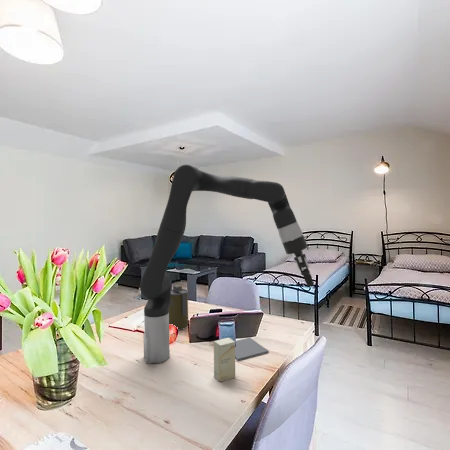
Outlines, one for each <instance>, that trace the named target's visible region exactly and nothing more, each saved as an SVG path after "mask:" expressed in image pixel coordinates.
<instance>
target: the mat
mask: <svg viewBox="0 0 450 450" xmlns="http://www.w3.org/2000/svg"><path fill="white" fill-rule="evenodd" d="M235 341H236V347H235V361H237V362H239V361H243V360H247V359H250V358H255V357H257V356H261V355H265V354H269V353H270V351H269V350H268V349H267V348H266V347H264V346H262V345H261V344H260V343H258V342H257V341H256V340H254V339H252V338H251V337H247V338H243V339H238V340H235Z"/></svg>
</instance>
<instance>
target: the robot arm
mask: <svg viewBox="0 0 450 450" xmlns="http://www.w3.org/2000/svg"><path fill="white" fill-rule="evenodd" d="M170 187H171V188H170V192H169V197H168V200H167V203H166V207H165V210H164V213H163V215H162V219H161V221H160V224H159V227H158V231H157V234H156V239H155V241H154V244H153V248H152V250H151V255H150V257H149V261H148V264H147V265H146V267H145V271H144V273H143V274H142V277H141V280H140V283H139V290H140V292H141V293H140V294H141V295H142V296H143V297H144V298H146V299H147V302H146V303H145V305H144V308H143V312H144V313H143V315H144V316H143V317H144V320H143V321H144V332H143V334H142V335H143V358H144V360H145V362H146V364H158V363H163V362H166V361H167V360H168V359H170V355H171V354H170V351H171V350H170V329H169V306H170V301H171V290H172V283H171V279H170V276H169V274H168V273H167V270H168V266H169V264H170V262H171V261H172V259H173V257H174V256H175V254H176V252H177V251H178V249H179V248H180V245H181V243H182V241H183V237H184V234H185V231H186V227H187V209H188V208H187V207H188V203H189V200H190V197H191V194H192V193H193V192H212V193H218V194H223V195H226V196H231V197H236V198H242V199H247V200H257V201H261V202H265V203H267V204H268V206H269V209H270V211H271V213H272V219H273V221H274V223H275V226H276V229H277V232H278V236H279V238H280V241H281V243H282V246H283V248H284V251H285V253H286V255H292V254H294V256H295V257H293V260H294V262H295V264H296V266H297V268H298V271H300V274H301V276H302V277H303V279H304V281H305V284H306V286H307V287H312V286H314V285H315V284H314V281H313V277H312V274H311V271H310V270H309V262H308V259H307V255H306V253H303V250H306V249H307V248H308V243H307V241H306V238H305V236H304V234H303V231H302V229H301V227H300V225H299V223H298V220H297V217H296V216H295V213H294V212H293V209H292V208H291V206H290V203H289V200H288V197H287V194H286V191H285V189H284V186H283V185H282V184H280V183H279V182H276V181H268V180H256V179H253V178H249V177H248V178H247V177H242V176H241V177H240V176H234V175H233V176H232V175H231V176H230V175H217V174H213V173H209V172H206V171H203V170H200V169H198V167H195V166H193V165H191V164H188V163H184V164H181V165H179V166H178V167H177V168H176V169H175V171H174V174H173V177H172V182H171V185H170Z"/></svg>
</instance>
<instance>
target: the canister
mask: <svg viewBox="0 0 450 450" xmlns="http://www.w3.org/2000/svg"><path fill="white" fill-rule="evenodd" d="M188 293H189V290H188V289H185V288H183V286H182V285H179V284H175V285H172V288H171V301H170V306H169V324H173V325H175V326H176V327H178V329H181V330H184V329H183V328H185V329H187V328H188V327H189V326H188V324H189V298H188V297H189V295H188ZM187 326H188V327H187ZM186 327H187V328H186Z"/></svg>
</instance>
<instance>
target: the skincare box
mask: <svg viewBox="0 0 450 450" xmlns="http://www.w3.org/2000/svg"><path fill="white" fill-rule="evenodd" d="M235 341H236V340H234V339H232V338H231V337H225V338H221V339H217V340H214V341H213V377H215V379H216V380H217V381H219V382H223V381H227V380H231V379H234V378H236V359H235Z"/></svg>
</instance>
